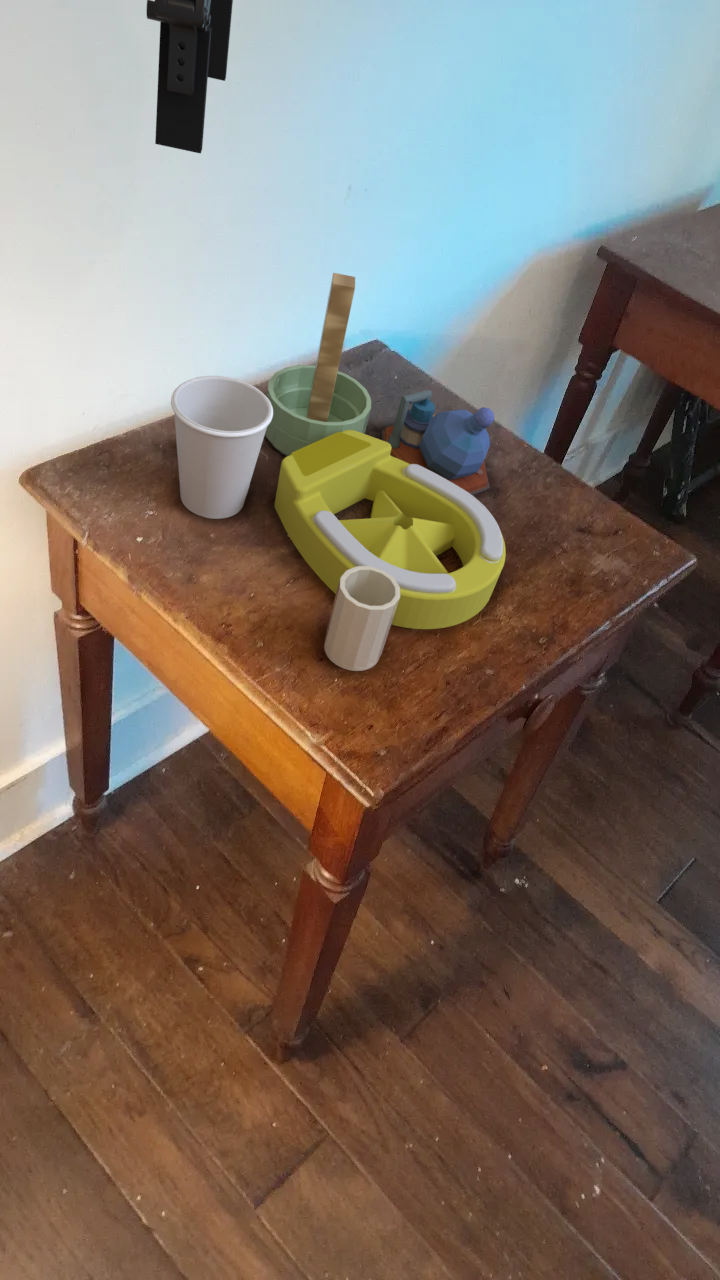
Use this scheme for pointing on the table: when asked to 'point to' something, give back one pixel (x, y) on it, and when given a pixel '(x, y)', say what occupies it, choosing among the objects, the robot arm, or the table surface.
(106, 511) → the table surface
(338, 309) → the stick
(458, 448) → the model
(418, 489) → the toy steering wheel
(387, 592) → the holder
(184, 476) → the dixie cup
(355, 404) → the bowl
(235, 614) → the table surface
